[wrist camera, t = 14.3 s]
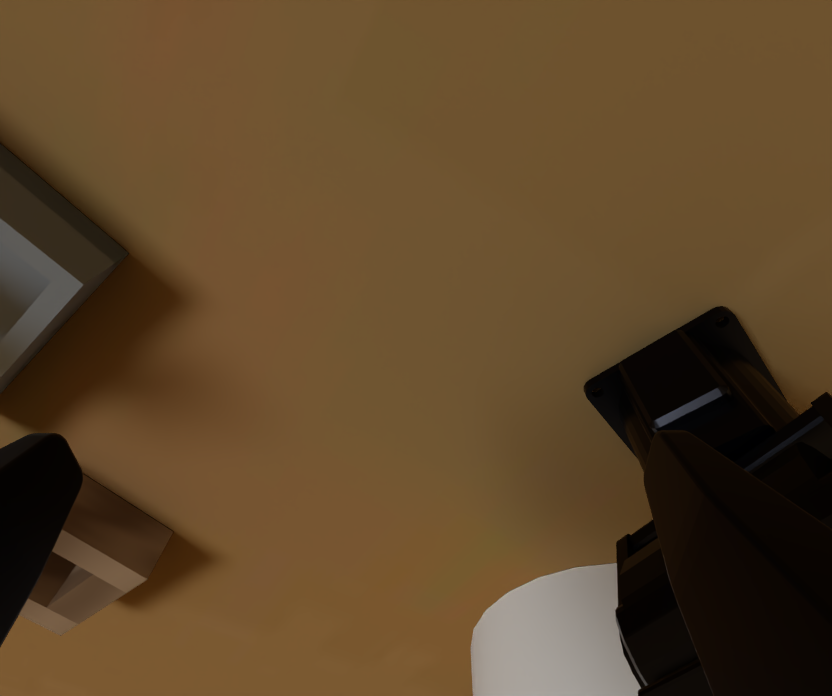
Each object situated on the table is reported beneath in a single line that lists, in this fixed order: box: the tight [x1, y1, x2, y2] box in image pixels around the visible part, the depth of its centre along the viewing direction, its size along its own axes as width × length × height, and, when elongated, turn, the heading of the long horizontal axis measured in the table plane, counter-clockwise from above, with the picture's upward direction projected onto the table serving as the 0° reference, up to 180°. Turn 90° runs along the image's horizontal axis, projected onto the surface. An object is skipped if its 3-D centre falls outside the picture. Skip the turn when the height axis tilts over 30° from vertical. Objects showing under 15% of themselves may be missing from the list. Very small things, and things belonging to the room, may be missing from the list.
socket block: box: [19, 474, 173, 636], centre depth 28 cm, size 9×9×3 cm
